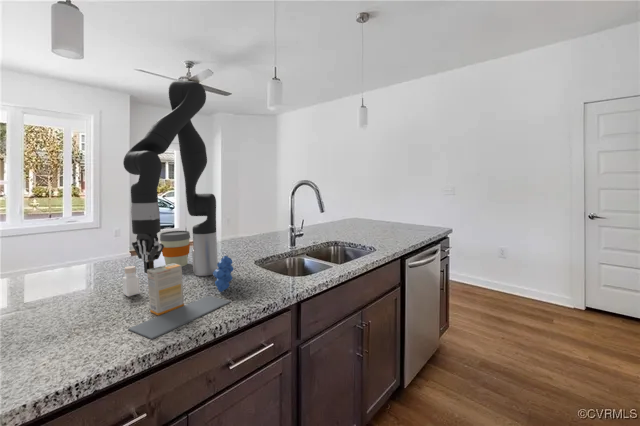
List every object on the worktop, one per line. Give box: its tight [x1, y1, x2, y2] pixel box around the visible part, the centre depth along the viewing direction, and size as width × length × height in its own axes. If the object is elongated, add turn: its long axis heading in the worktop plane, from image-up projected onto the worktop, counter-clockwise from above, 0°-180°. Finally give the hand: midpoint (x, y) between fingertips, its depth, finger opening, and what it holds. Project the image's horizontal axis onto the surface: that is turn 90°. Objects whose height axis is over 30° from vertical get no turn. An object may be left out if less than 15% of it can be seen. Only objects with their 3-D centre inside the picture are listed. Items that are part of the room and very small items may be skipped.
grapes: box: [213, 255, 235, 293], centre depth 108 cm, size 12×7×12 cm, turn 174°
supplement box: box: [146, 263, 185, 317], centre depth 91 cm, size 8×5×13 cm, turn 145°
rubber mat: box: [128, 295, 231, 340], centre depth 88 cm, size 10×26×1 cm, turn 151°
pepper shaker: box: [122, 265, 141, 297], centre depth 104 cm, size 4×4×10 cm
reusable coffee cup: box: [159, 230, 191, 267], centre depth 140 cm, size 13×13×15 cm
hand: (149, 272), depth 95 cm, fingers closed
